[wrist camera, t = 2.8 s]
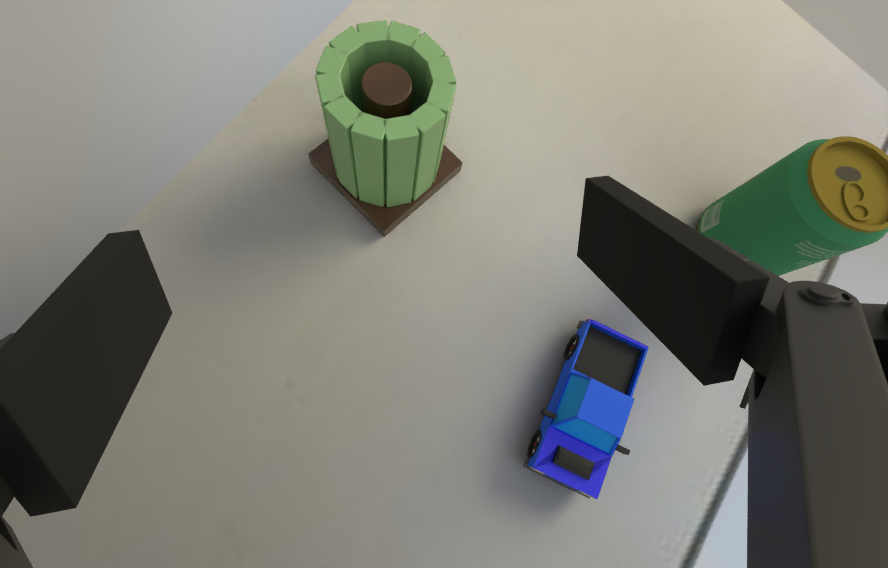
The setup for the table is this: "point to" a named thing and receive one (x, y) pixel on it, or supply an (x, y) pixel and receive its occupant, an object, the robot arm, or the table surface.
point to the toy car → (587, 409)
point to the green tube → (376, 139)
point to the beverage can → (806, 206)
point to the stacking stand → (385, 99)
